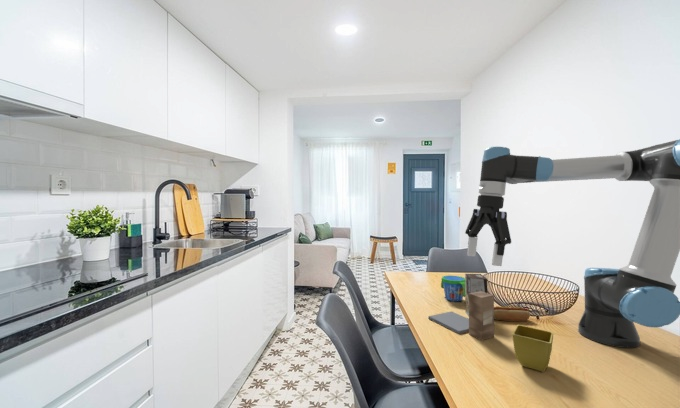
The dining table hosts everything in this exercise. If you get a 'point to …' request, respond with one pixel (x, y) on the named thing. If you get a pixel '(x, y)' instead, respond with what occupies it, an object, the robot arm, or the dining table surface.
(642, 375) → the dining table surface
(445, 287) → the snack cup
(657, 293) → the robot arm
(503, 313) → the food
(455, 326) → the mat
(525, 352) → the flower pot
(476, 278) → the coffee box
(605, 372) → the dining table surface
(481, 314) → the walnut block
